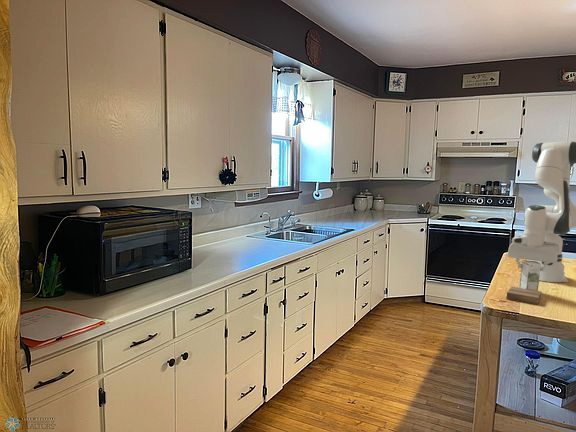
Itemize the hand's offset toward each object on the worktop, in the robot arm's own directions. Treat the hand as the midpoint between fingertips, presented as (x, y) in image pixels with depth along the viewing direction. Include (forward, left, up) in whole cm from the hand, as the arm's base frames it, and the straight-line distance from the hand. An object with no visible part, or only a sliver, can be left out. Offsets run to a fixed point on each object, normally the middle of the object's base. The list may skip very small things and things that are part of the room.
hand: (530, 269), depth 201 cm
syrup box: (0, 0, -11) cm, 11 cm away
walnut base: (+14, 0, -11) cm, 18 cm away
